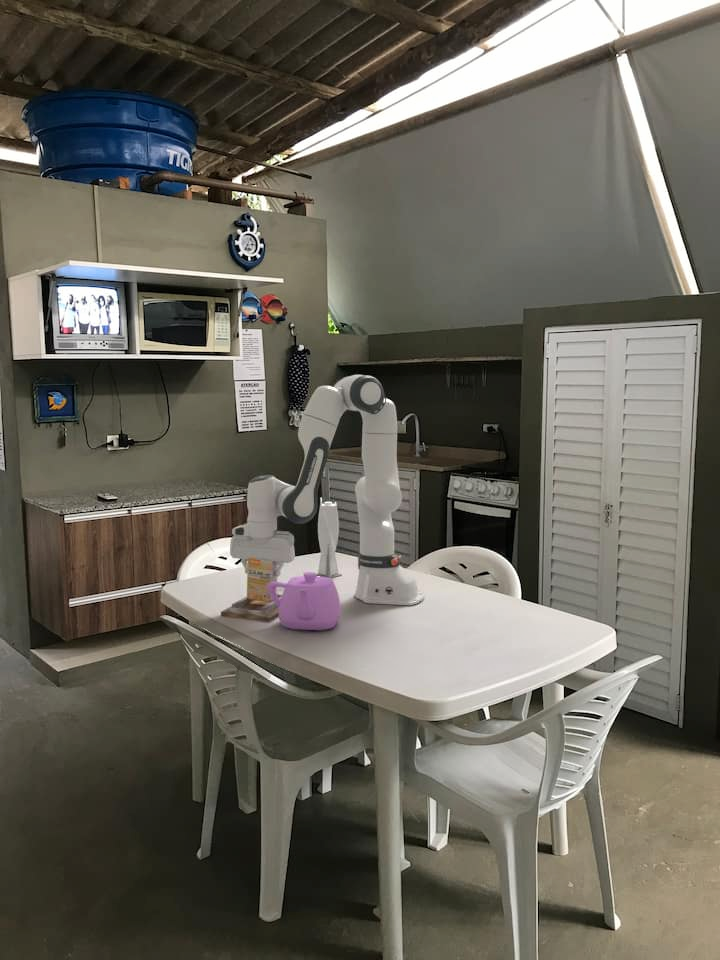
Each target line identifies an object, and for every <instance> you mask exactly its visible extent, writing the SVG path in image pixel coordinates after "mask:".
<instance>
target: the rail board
mask: <svg viewBox="0 0 720 960" xmlns="http://www.w3.org/2000/svg"><path fill="white" fill-rule="evenodd" d="M282 594H283V593H280V592H279V593H278V592H277V596H278V598H279V600H280V601H281V597H282ZM220 616H222V617H229V618H235V619H236V618H237V619H244V620H253V621H261V622H269V623H272V621H274V620H275V619H277V618H279V607H278V606H277V604H276V603H275V602H274V601H272V602H265V601H258V600H251V599H247V595H246V596H244V597H243V598H241V599H239V600H237V601H236V602H234V603H232V604H231V605H230V606H229V607H227V608H225V609H223V610H222V611H220Z"/></svg>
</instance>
